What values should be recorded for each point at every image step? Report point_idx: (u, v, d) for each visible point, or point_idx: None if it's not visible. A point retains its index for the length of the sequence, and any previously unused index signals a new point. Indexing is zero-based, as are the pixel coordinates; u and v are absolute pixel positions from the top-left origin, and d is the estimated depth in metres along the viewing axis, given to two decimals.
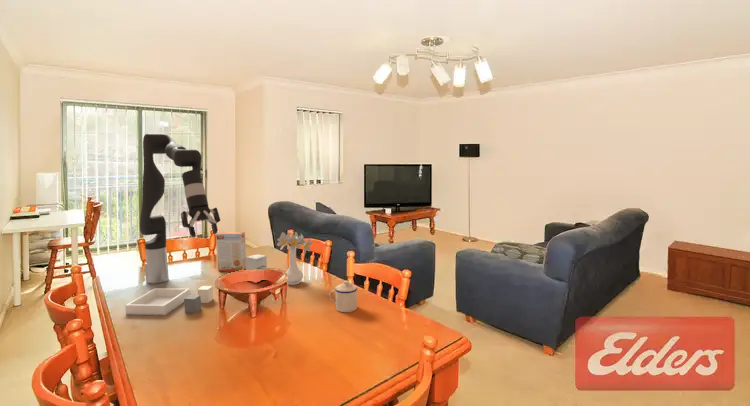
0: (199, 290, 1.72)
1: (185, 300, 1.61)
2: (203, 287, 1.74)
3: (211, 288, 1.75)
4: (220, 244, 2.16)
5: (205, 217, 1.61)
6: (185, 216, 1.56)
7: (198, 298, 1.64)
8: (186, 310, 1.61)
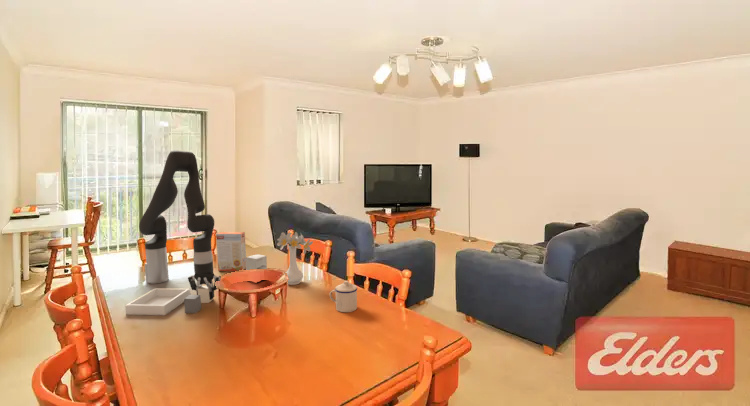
0: (199, 290, 1.72)
1: (185, 300, 1.61)
2: (203, 287, 1.74)
3: None
4: (220, 244, 2.16)
5: (205, 282, 1.73)
6: (190, 281, 1.73)
7: (198, 298, 1.64)
8: (186, 310, 1.61)
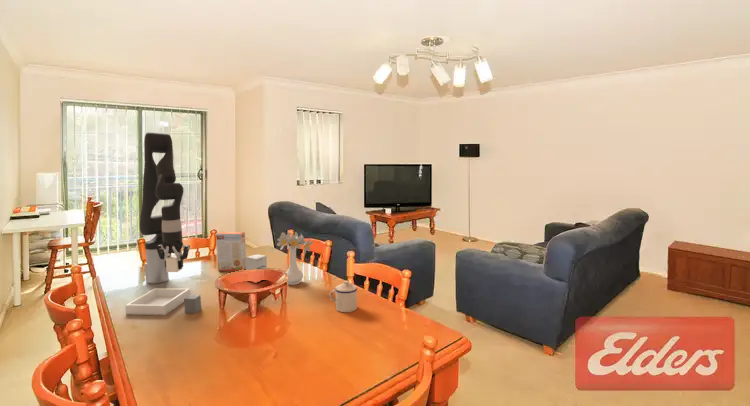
0: (167, 259, 1.70)
1: (185, 300, 1.61)
2: (172, 256, 1.73)
3: None
4: (220, 244, 2.16)
5: (173, 251, 1.71)
6: (158, 250, 1.71)
7: (198, 298, 1.64)
8: (186, 310, 1.61)
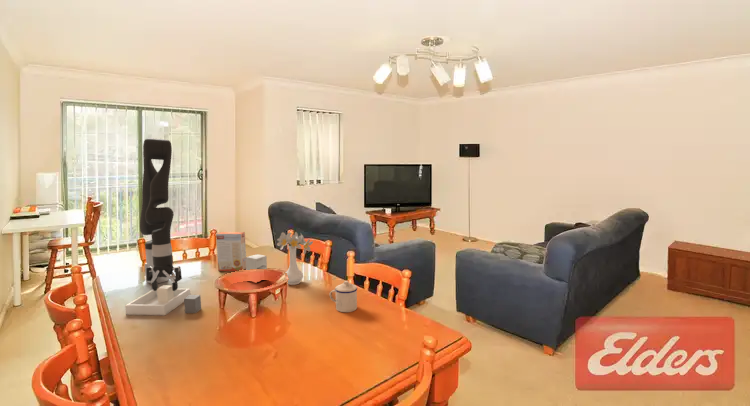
0: (158, 289, 1.71)
1: (185, 300, 1.61)
2: (163, 286, 1.74)
3: (171, 287, 1.74)
4: (220, 244, 2.16)
5: (165, 275, 1.71)
6: (148, 272, 1.72)
7: (198, 298, 1.64)
8: (186, 310, 1.61)
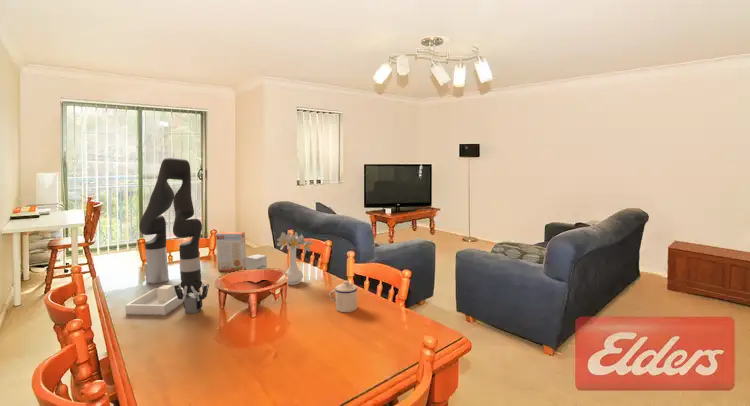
0: (158, 289, 1.71)
1: (185, 300, 1.61)
2: (163, 286, 1.74)
3: (171, 287, 1.74)
4: (220, 244, 2.16)
5: (192, 291, 1.62)
6: (176, 290, 1.62)
7: None
8: (186, 310, 1.61)
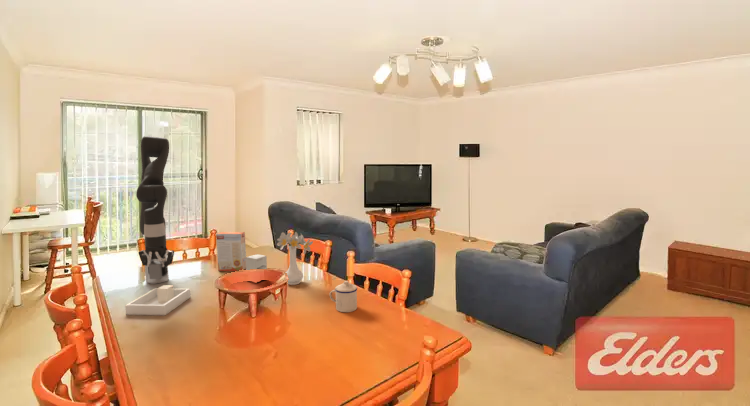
0: (158, 289, 1.71)
1: (150, 266, 1.61)
2: (163, 286, 1.74)
3: (171, 287, 1.74)
4: (220, 244, 2.16)
5: (156, 257, 1.62)
6: (141, 256, 1.62)
7: None
8: (151, 276, 1.61)
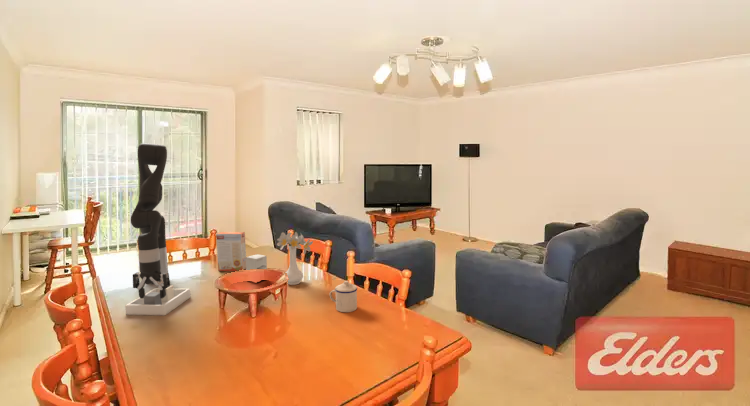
0: (158, 289, 1.71)
1: (145, 297, 1.62)
2: None
3: (171, 287, 1.74)
4: (220, 244, 2.16)
5: (153, 282, 1.63)
6: (134, 279, 1.63)
7: (158, 295, 1.65)
8: None
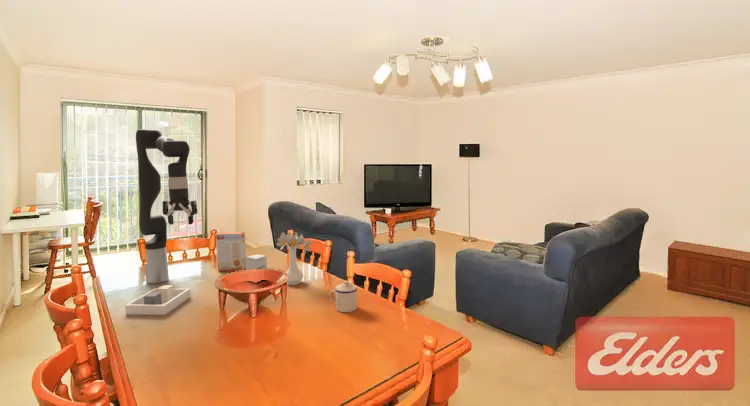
0: (158, 289, 1.71)
1: (145, 297, 1.62)
2: (163, 286, 1.74)
3: (171, 287, 1.74)
4: (220, 244, 2.16)
5: (181, 209, 1.73)
6: (164, 206, 1.73)
7: (158, 295, 1.65)
8: None
